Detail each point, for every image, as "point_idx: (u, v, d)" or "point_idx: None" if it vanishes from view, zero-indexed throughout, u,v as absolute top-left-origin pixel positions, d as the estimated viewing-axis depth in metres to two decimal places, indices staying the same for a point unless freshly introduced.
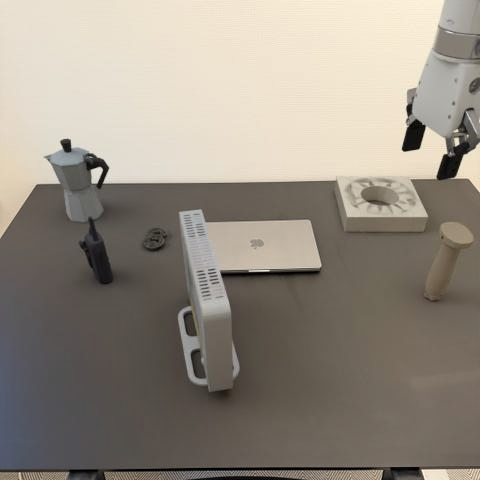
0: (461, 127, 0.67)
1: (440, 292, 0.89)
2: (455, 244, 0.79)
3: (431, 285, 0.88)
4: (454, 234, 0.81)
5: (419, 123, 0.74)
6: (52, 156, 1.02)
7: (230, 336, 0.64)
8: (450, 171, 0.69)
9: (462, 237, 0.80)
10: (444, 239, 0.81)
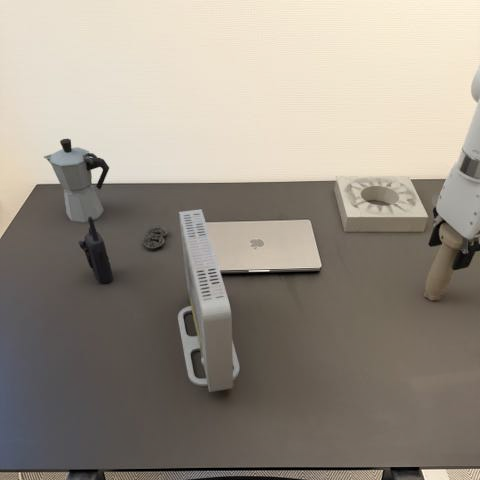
0: None
1: (440, 292, 0.89)
2: (455, 244, 0.79)
3: (431, 285, 0.88)
4: (454, 234, 0.81)
5: None
6: (52, 156, 1.02)
7: (230, 336, 0.64)
8: (464, 264, 0.80)
9: (462, 237, 0.80)
10: (444, 239, 0.81)
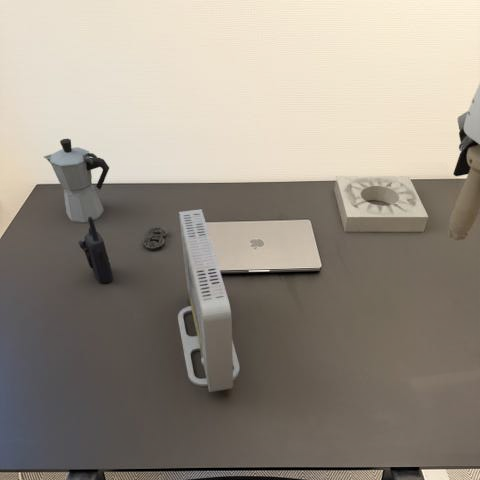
0: None
1: (466, 229, 0.79)
2: None
3: (456, 221, 0.79)
4: None
5: None
6: (52, 156, 1.02)
7: (230, 336, 0.64)
8: None
9: None
10: (473, 163, 0.71)
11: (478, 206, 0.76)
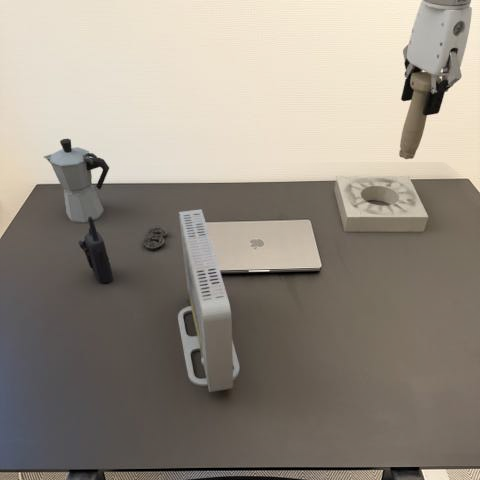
0: (445, 67, 0.82)
1: (413, 148, 0.93)
2: (424, 86, 0.83)
3: (405, 140, 0.92)
4: (423, 79, 0.85)
5: None
6: (52, 156, 1.02)
7: (230, 336, 0.64)
8: (434, 106, 0.84)
9: None
10: (414, 84, 0.85)
11: (422, 125, 0.90)
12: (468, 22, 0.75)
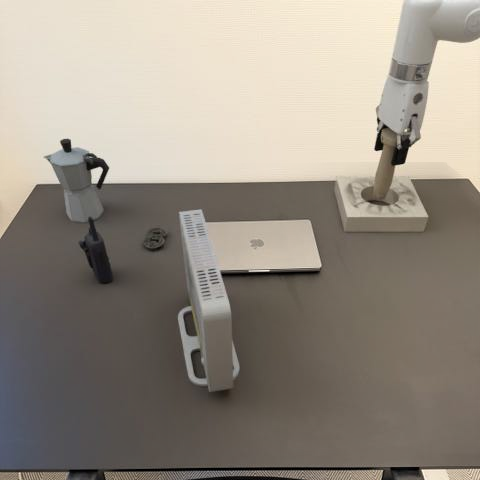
0: (409, 127, 0.96)
1: (385, 190, 1.07)
2: (391, 142, 0.98)
3: (377, 184, 1.07)
4: (391, 135, 0.99)
5: None
6: (52, 156, 1.02)
7: (230, 336, 0.64)
8: (400, 159, 0.99)
9: None
10: (383, 139, 0.99)
11: (391, 172, 1.04)
12: (425, 94, 0.90)
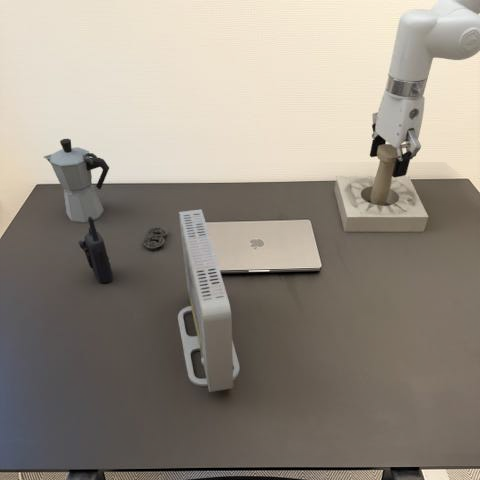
0: (407, 140, 0.98)
1: (381, 204, 1.10)
2: (387, 158, 1.01)
3: (373, 198, 1.10)
4: (387, 152, 1.02)
5: (381, 137, 1.05)
6: (52, 156, 1.02)
7: (230, 336, 0.64)
8: (401, 171, 1.00)
9: (393, 154, 1.01)
10: (379, 156, 1.02)
11: (387, 187, 1.07)
12: (421, 109, 0.92)
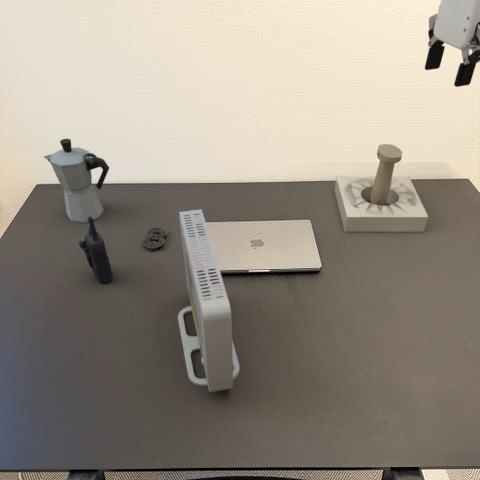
0: (474, 40, 0.85)
1: (381, 204, 1.10)
2: (387, 158, 1.01)
3: (373, 198, 1.10)
4: (387, 152, 1.02)
5: (439, 44, 0.92)
6: (52, 156, 1.02)
7: (230, 336, 0.64)
8: (465, 77, 0.87)
9: (393, 154, 1.01)
10: (379, 156, 1.02)
11: (387, 187, 1.07)
12: None
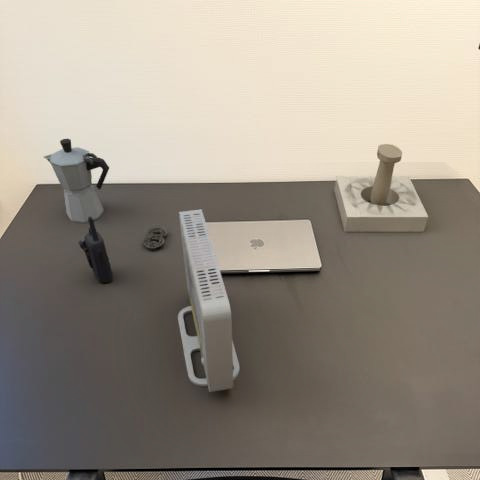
0: None
1: (381, 204, 1.10)
2: (387, 158, 1.01)
3: (373, 198, 1.10)
4: (387, 152, 1.02)
5: None
6: (52, 156, 1.02)
7: (230, 336, 0.64)
8: None
9: (393, 154, 1.01)
10: (379, 156, 1.02)
11: (387, 187, 1.07)
12: None
